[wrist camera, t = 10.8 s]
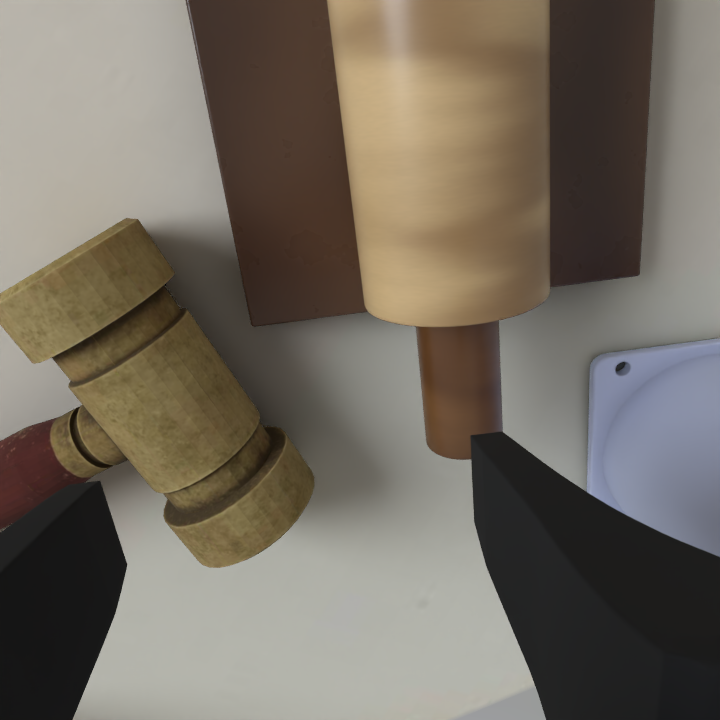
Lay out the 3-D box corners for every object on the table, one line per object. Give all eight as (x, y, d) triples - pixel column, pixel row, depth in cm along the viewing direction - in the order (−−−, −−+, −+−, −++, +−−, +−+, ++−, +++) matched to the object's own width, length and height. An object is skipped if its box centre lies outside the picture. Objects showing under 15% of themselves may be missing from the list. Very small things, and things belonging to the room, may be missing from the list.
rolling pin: (481, -534, 13) (613, -881, 8) (509, 390, 21) (583, 465, 16) (243, -532, 12) (248, -907, 8) (367, 418, 20) (405, 504, 16)
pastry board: (642, -303, 15) (676, -344, 14) (619, 264, 20) (640, 276, 19) (148, -238, 15) (130, -272, 14) (256, 312, 20) (251, 328, 19)
